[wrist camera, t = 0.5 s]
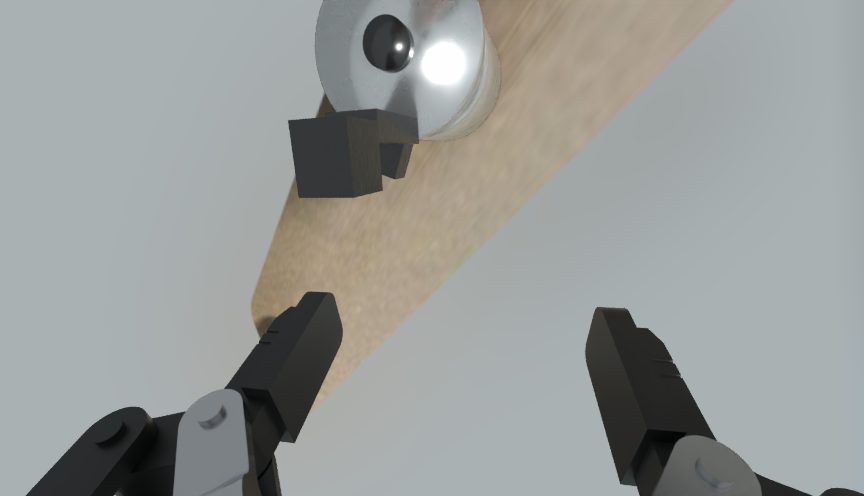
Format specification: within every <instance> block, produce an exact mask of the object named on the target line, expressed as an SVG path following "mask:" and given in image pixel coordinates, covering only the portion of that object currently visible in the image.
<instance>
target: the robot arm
mask: <svg viewBox="0 0 864 496" xmlns="http://www.w3.org/2000/svg"><path fill="white" fill-rule="evenodd" d="M342 335H343V328H342V324H341V320H340V316H339V313H338V309H337V305H336V301H335V298H334V295H333V294H332V293H328V292H307V293H305V295H304V296H303V297H302V299H301V300H300V302H299V303H298V305H297V306H296V307H290V308H288V309H287V310H286V311H284V312H283V313H282V314H280V315H279V316H278V317H277V318H276V319H275V320H274V322H273V323H272V324H271V326H270V327H269V328H268V330H267V333H265V334H264V335H263V337H262V338H261V339H260V341H259V344H257V345H256V346H255V348H254V349H253V350H252V352H251V353H250V355H249V356H248V357H247V359H246V360H245V361H244V363H243V364H242V365H241V367H240V368H239V370H238V371H237V372H236V374H235V375H234V377H233V378H232V380H231V381H230V382H229V383H228V385H227V386H226V387H225V388H224V389H221V390H217V391H214V392H211V393H209V394H207V395H205V396H204V397H202V398H200V399H199V400H198V401H196V402H195V403H194V404H193V405H191V406H190V408H189V409H188V410H187V411H186V412H181V413H176V414H171V415H167V416H162V417H157V418H152V419H151V417H150V416H149V415H148V414H147V413H146V411H145V410H143V409H142V408H140V407H127V408H123V409H119V410H117V411H115V412H112V413H111V414H108V415H107V416H105V417H103V418H102V419H100V420H99V421H97V422H96V423H95V424H93V425H92V426H91V427H90V428H89V429H88V430H87V431H86V432H85V433H84V434H83V435H82V436H81V437H80V438H79V439H78V440H77V441H76V442H75V444H73V446H72V447H71V448H70V449H69V450H68V451H67V452H66V453H65V454H64V455H63V456H62V457H61V458H60V459H59V461H58V462H57V463H56V464H55V465H54V466H53V467H52V468H51V469H50V470H49V471H48V472H47V473H46V475H44V477H43V478H42V479H41V480H40V481H39V482H38V483H37V484H36V485H35V486H34V487H33V488H32V489H31V491H30V492H29V493H28V494H27V495H26V496H114V495H116V496H282V494H281V488H280V481H279V476H278V469H277V463H276V458H275V455H274V452H275V450H276V448H277V446H278V444H279V442H280V441H281V442H290V443H295V441H296V439H297V437H298V434H299V433H300V430H301V428H302V426H303V424H304V422H305V420H306V418H307V415H308V413H309V411H310V409H311V407H312V405H313V403H314V401H315V398H316V396H317V394H318V392H319V390H320V388H321V386H322V383H323V381H324V379H325V377H326V375H327V373H328V371H329V368H330V366H331V364H332V362H333V360H334V358H335V356H336V353H337V351H338V349H339V347H340V345H341V341H342ZM585 352H586V353H585V354H586V363H587V367H588V370H589V374H590V378H591V381H592V385H593V388H594V392H595V396H596V399H597V402H598V406H599V410H600V413H601V417H602V421H603V424H604V428H605V431H606V435H607V438H608V442H609V445H610V449H611V452H612V456H613V459H614V463H615V466H616V470H617V474H618V477H619V481H620V484H623V485H632V486H637V489H638V492H639V495H640V496H812V495H809V494H807V493H804V492H801V491H799V490H796V489H794V488H791V487H788V486H786V485H783V484H780V483H778V482H775V481H773V480H770V479H768V478H765V477H763V476H761V475H759V474H756V473H755V472H753V471H752V469H751V468H750V467H749V465H748V464H747V463H746V462H745V461H744V460H743V459H742V458H741V457H740V456H739V455H738V454H737V453H735V452H734V451H733V450H731V449H730V448H728V447H727V446H725V445H724V444H722V443H720V442H717V440H716V438H715V437H714V435H713V433H712V432H711V430H710V428H709V426H708V424H707V422H706V421H705V419H704V417H703V415H702V413H701V411H700V409H699V408H698V406H697V404H696V402H695V400H694V398H693V397H692V395H691V393H690V391H689V389H688V388H687V385H686V384H685V382H684V380H683V378H681V377H680V373H679V371H678V369H677V367H676V365H675V364H673V360H672V358H671V356H670V354H669V352H668V350H667V349H666V347H665V345H664V343H663V342H662V341H661V340H660V339H658V338H657V337H656V336H655V335H654V334H653V333H652V332H651V331H650V330H649V329H648V328H637V327H636V325H635V323H634V321H633V319H632V317H631V315H630V313H629V311H628V310H627V309H625V308H606V307H597V308H596V309H595V312H594V316H593V319H592V323H591V327H590V331H589V335H588V339H587V342H586V350H585ZM820 496H864V494H862V493H859V492H856V491H853V490H849V489H843V488H831V489H828V490H826V491H825V492H824V493H822V494H821V495H820Z"/></svg>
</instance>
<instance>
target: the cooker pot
mask: <svg viewBox="0 0 864 496" xmlns="http://www.w3.org/2000/svg"><path fill="white" fill-rule="evenodd" d="M484 27H485V25H484ZM501 74H502V73H501V64H500V59H499V55H498V53H497V50H496V48H495V46H494V44H493V42H492V39H491V37H490V35H489V33H488V31H487V29H486V27H485V54H484V60H483V66H482V70H481V73H480V77H479V80H478V82H477V85H476V87H475V89H474V92H473V94H472V95H471V97H470V99H469V101H468V102H467V104H466V105H465V106H464V108H463V109H462V111H461V112H460V113H459V114H458V115H457V116H456V117H455V118H454V119H453V120H452V121H451V122H450V123H449V124H448V125H446V126H445V127H444V128H443V129H441V130H439V131H438V132H436V133H434V134H432V135H430V136H428V137H426V138H423V139H420V140H431V141H452V140H456V139H460V138H462V137H465V136H467V135H469V134H470V133H472V132H473V131H475V130H476V129H477V128H478V127H480V126H481V125H482V124H483V122H484V121H485V120H486V119H487V118H488V116H489V115H490V113H491V112H492V110H493V108H494V106H495V104H496V101H497V99H498V96H499V92H500V87H501ZM412 147H413V144H402V145H382V146H379V148H380V162H381V174H382V175H385V176H387V177H390V178H393V179H399V178H404V177H405V173H406V169H407V166H408V162H409V158H410V155H411V151H412Z"/></svg>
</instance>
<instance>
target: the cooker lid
mask: <svg viewBox="0 0 864 496" xmlns="http://www.w3.org/2000/svg"><path fill="white" fill-rule="evenodd" d="M484 54H485V27H484V21H483V16H482V12H481V9H480V5H479V2H478V0H323V3H322V5H321V8H320V12H319V17H318V20H317V26H316V33H315V55H316V63H317V69H318V73H319V77H320V81H321V84H322V86H323V89H324V91H325V94H326V95H327V97H328V99H329V101H330V103H331V104H332V106H333V107H334V109H335V110H336V112H329V113H325V116H326V117H323V118H311V119H300V120H289V121H288V123H289V130H290V137H291V145H292V152H293V159H294V166H295V174H296V181H297V188H298V195H299V198H354V197H359V196H363V195H367V194H371V193H375V192H379V191H383V188H382V175H381V162H380V148H379V146H382V145H402V144H419V139H423V138H426V137H428V136H430V135H432V134H434V133H436V132H438V131H439V130H441V129H443V128H444V127H445V126H446V125H448V124H449V123H450V122H451V121H452V120H453V119H454V118H455V117H456V116H457V115H458V114H459V113H460V112H461V111H462V109H463V108H464V106H465V105H466V104H467V102H468V101H469V99H470V97H471V95H472V94H473V92H474V89H475V87H476V85H477V82H478V80H479V77H480V73H481V70H482V66H483V60H484Z"/></svg>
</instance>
